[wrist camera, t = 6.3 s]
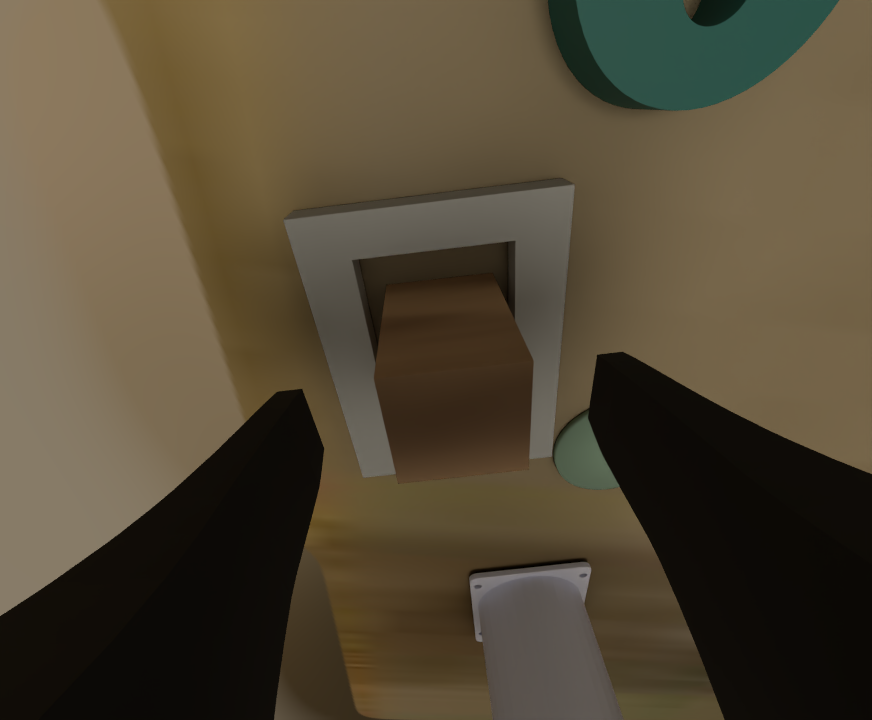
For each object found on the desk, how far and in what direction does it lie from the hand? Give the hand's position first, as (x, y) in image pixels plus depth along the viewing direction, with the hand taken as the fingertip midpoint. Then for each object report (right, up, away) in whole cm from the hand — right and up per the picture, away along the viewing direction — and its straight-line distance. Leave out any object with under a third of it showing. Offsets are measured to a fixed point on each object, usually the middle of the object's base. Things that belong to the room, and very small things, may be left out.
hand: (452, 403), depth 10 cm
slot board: (0, +2, +7) cm, 7 cm away
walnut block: (0, +3, +6) cm, 7 cm away
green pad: (+9, -3, +10) cm, 14 cm away
